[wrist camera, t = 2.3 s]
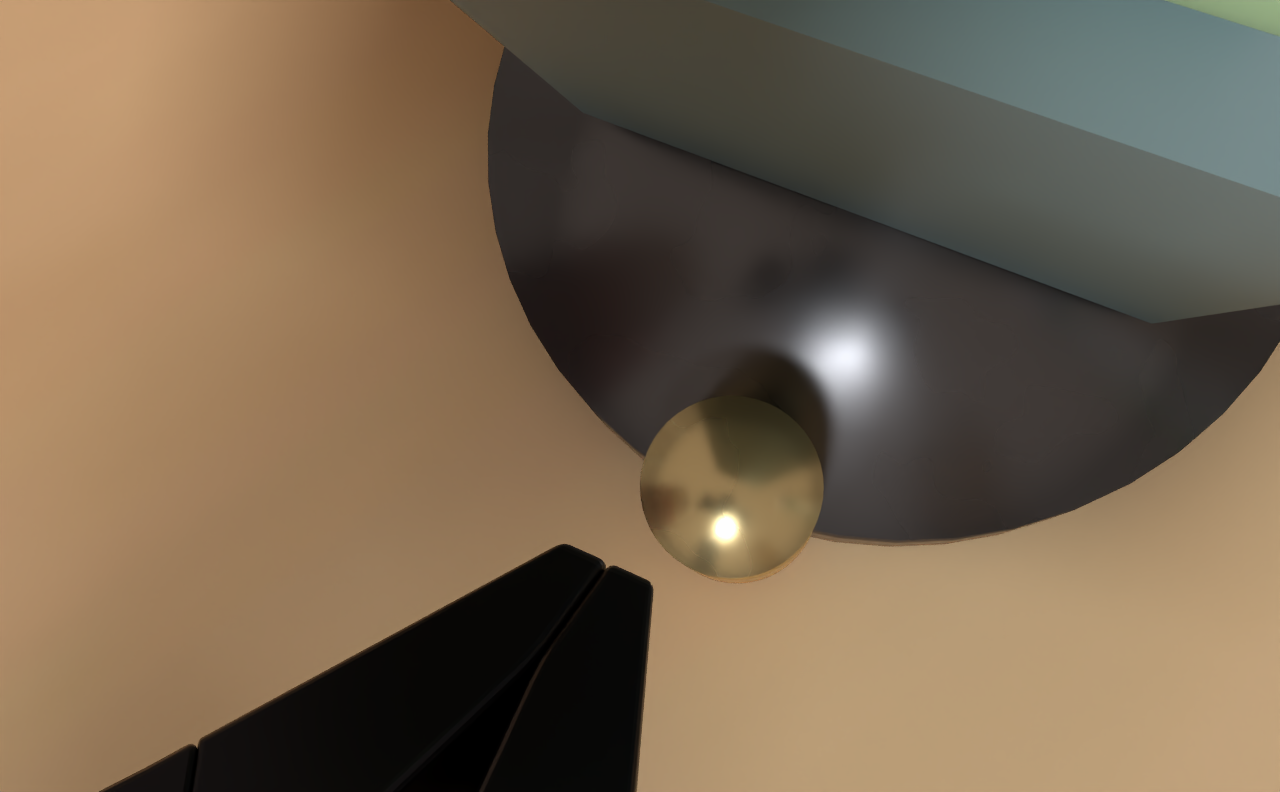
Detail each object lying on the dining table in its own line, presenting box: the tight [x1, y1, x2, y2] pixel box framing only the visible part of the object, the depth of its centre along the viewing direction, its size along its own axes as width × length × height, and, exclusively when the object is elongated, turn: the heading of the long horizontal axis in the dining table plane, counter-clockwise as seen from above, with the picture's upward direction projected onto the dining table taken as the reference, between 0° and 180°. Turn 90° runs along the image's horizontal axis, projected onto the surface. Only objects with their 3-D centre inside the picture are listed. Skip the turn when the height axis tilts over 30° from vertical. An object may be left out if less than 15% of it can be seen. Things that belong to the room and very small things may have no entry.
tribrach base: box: [488, 47, 1280, 583], centre depth 19 cm, size 15×15×2 cm
